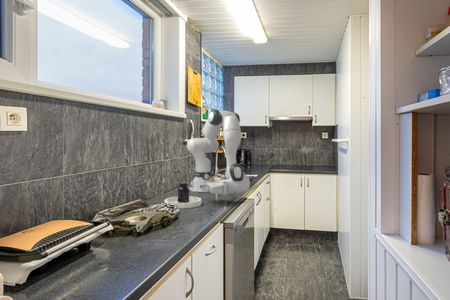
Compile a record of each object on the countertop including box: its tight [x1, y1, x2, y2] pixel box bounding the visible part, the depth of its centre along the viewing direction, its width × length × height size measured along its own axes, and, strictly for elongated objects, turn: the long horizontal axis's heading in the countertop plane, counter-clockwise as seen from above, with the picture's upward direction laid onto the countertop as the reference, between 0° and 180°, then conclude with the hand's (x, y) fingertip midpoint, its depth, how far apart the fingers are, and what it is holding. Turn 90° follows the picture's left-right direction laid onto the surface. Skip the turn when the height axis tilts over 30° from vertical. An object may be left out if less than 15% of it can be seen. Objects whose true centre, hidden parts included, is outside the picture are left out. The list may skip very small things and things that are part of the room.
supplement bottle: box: [177, 182, 190, 203], centre depth 193 cm, size 7×7×12 cm
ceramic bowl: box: [164, 195, 203, 210], centre depth 193 cm, size 21×21×3 cm
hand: (200, 187), depth 194 cm, fingers open, 8 cm apart
